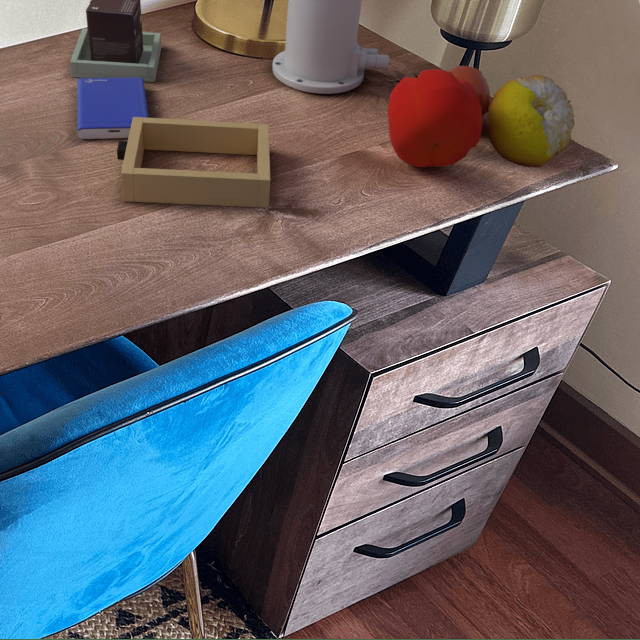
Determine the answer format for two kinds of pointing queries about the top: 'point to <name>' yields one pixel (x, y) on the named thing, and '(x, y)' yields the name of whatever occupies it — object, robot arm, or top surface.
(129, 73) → the tray
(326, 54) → the robot arm
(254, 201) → the tan rectangular bin
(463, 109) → the tomato
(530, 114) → the fruit
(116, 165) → the top surface
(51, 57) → the top surface
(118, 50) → the box
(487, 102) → the tomato
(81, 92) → the hard drive
